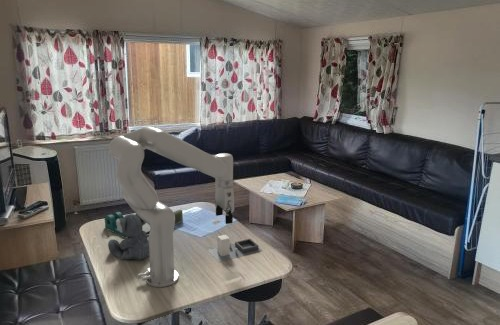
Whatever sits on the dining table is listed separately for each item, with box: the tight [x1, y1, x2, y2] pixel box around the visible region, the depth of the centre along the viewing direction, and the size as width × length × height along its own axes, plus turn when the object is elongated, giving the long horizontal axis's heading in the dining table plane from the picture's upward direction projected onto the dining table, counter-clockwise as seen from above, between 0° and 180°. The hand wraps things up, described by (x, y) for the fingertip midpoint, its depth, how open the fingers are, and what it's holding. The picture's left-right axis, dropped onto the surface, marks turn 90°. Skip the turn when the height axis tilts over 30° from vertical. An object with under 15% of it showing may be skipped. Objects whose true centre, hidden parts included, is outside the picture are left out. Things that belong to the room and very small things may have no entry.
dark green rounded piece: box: [104, 211, 126, 238], centre depth 197 cm, size 18×7×8 cm, turn 52°
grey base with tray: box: [207, 238, 263, 263], centre depth 179 cm, size 22×12×4 cm, turn 120°
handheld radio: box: [145, 209, 184, 236], centre depth 201 cm, size 7×3×25 cm
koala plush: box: [107, 213, 149, 261], centre depth 173 cm, size 17×18×20 cm
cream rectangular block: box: [216, 234, 231, 256], centre depth 175 cm, size 4×4×8 cm
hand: (224, 219), depth 172 cm, fingers open, 9 cm apart
